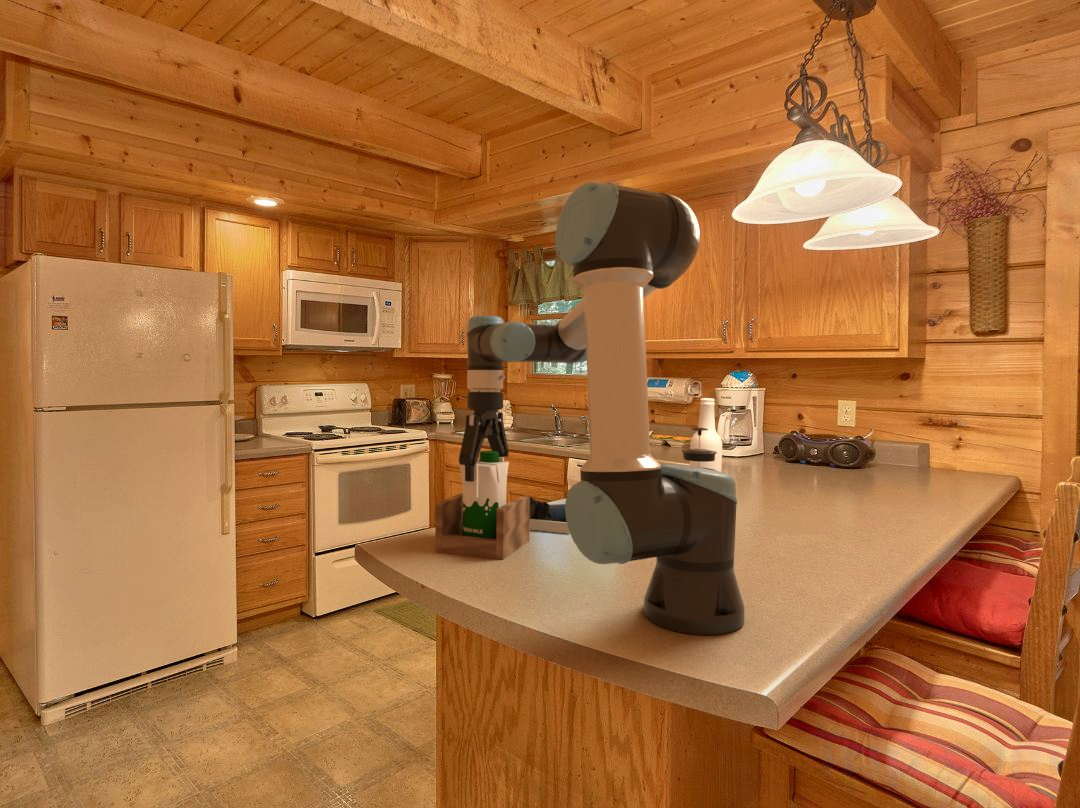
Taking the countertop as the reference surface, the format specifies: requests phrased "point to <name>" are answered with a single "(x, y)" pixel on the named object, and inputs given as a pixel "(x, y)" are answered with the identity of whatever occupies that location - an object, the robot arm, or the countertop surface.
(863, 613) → the countertop surface
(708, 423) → the alcohol
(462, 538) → the wooden holder
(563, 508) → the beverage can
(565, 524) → the can cradle
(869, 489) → the countertop surface
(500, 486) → the milk carton
